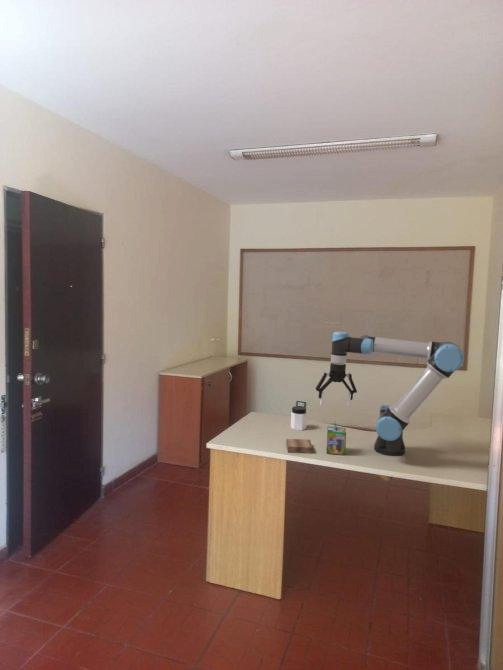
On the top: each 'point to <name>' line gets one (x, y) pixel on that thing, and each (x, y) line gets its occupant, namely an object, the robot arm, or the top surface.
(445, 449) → the top surface
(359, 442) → the top surface
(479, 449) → the top surface
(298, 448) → the block
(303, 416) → the jar
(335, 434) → the chalk box
